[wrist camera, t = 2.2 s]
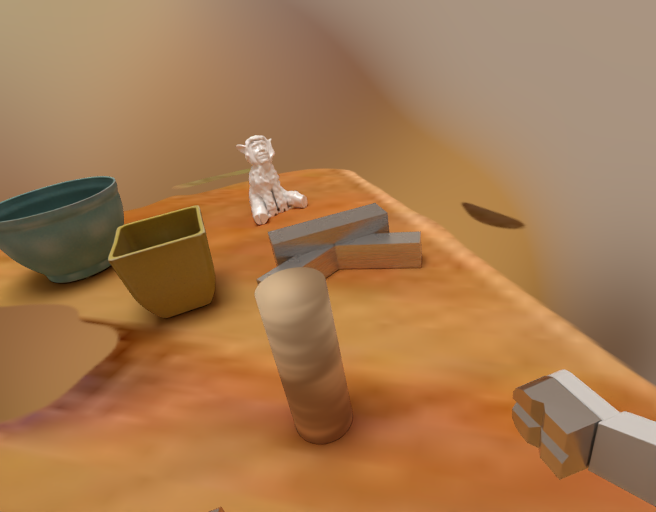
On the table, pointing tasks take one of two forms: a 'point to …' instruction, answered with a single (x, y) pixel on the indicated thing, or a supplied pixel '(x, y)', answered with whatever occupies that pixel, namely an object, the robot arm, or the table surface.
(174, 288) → the flower pot
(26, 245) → the flower pot
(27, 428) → the table surface
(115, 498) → the table surface
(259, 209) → the sitting furry creature
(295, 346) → the dowel
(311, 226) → the crossed grey wooden bars
